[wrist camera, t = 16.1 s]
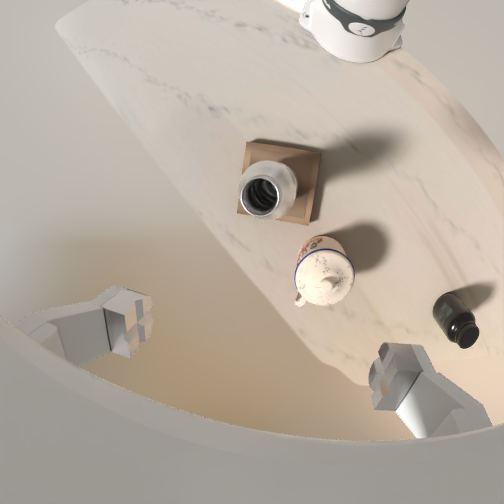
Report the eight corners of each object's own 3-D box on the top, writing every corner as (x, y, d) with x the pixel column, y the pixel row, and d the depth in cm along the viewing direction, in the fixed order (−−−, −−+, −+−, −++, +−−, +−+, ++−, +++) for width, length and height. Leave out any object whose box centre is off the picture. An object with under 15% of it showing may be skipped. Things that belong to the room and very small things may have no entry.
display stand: (248, 142, 44) (246, 141, 42) (320, 153, 42) (321, 153, 40) (239, 211, 48) (236, 213, 46) (308, 223, 46) (308, 225, 44)
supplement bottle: (462, 300, 45) (488, 329, 34) (443, 325, 47) (465, 358, 36) (445, 286, 45) (472, 315, 34) (426, 312, 47) (448, 346, 36)
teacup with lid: (315, 223, 46) (319, 242, 35) (356, 252, 46) (371, 279, 36) (277, 277, 50) (269, 308, 40) (317, 302, 51) (319, 338, 40)
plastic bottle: (257, 201, 45) (223, 230, 26) (259, 160, 43) (225, 158, 24) (296, 205, 44) (292, 237, 25) (299, 163, 42) (298, 162, 23)
